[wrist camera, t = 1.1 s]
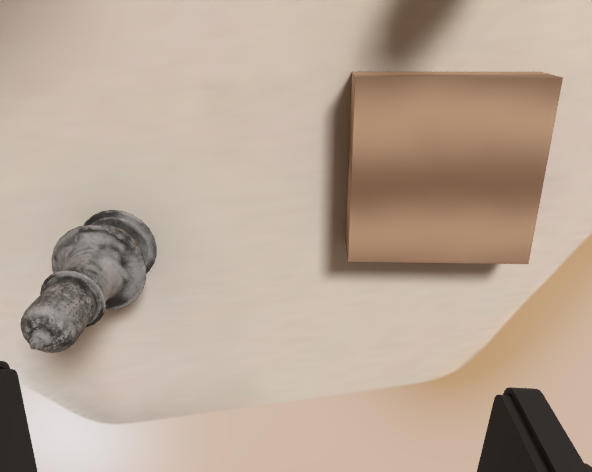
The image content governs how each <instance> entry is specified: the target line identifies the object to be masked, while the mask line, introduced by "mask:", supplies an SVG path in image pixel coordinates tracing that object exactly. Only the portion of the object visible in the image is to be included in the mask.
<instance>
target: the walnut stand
mask: <svg viewBox="0 0 592 472" xmlns="http://www.w3.org/2000/svg"><path fill="white" fill-rule="evenodd" d="M562 79H563V78H562V77H558V76H554V75H550V74H546V73H542V72H352V86H351V113H350V139H349V166H348V193H347V219H346V249H347V256H348V262H407V263H488V264H528V262H529V257H530V252H531V246H532V241H533V235H534V230H535V225H536V219H537V214H538V208H539V203H540V198H541V192H542V187H543V181H544V176H545V171H546V165H547V160H548V154H549V149H550V144H551V138H552V133H553V127H554V122H555V117H556V111H557V106H558V100H559V95H560V90H561V84H562Z"/></svg>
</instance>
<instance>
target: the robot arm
mask: <svg viewBox="0 0 592 472" xmlns="http://www.w3.org/2000/svg"><path fill="white" fill-rule="evenodd" d="M0 472H37V468H36V463H35V458H34V453H33V448H32V444H31V439H30V434H29V429H28V424H27V419H26V414H25V410H24V404H23V399H22V394H21V389H20V384H19V379H18V375H17V372H16V371H15V370H13V369H10V367H9V365H8V364H7V363H6V362H4V361H0ZM477 472H592V467H591V466H589V465H588V464H584V463H583V461H582V459H581V458H580V456H579V454H578V453H577V451H576V449H575V447H574V446H573V444H572V442H571V441H570V439H569V437H568V436H567V434H566V432H565V431H564V429H563V427H562V426H561V424H560V422H559V421H558V419H557V417H556V416H555V414H554V412H553V411H552V409H551V407H550V405H549V404H548V402H547V400H546V399H545V397H544V395H543V394H542V393H541V391H540V390H538V389H527V388H506V390H505V391H504V394H503V395H497V396H496V397H495V399H494V403H493V407H492V411H491V415H490V419H489V424H488V428H487V432H486V436H485V440H484V444H483V449H482V453H481V457H480V461H479V465H478V469H477Z"/></svg>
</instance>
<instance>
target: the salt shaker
mask: <svg viewBox="0 0 592 472" xmlns="http://www.w3.org/2000/svg"><path fill="white" fill-rule="evenodd" d="M155 258H156V243H155V239H154V236H153V235H152V233H151V231H150V229H149V228H148V227H147V226H146V225H145V224H144V223H143V222H142V221H141V220H140V219H138V218H137V217H135V216H133V215H132V214H129V213H126V212H123V211H116V210H109V211H102V212H100V213H98V214H95V215H93V216H92V217H91V218H90V219H89V220H87V221H86V222H85V224H84V226H80V227H77V228H75V229H73V230H70V231H68V232H67V233H66V234H65V235H64V236H62V237H61V238H60V239H59V241H58V242H57V244H56V246H55V247H54V250H53V255H52V269H53V273H54V274H52V275H50V276H49V277H48V278H47V279H46V280H45V281H44V283H43V285H42V287H41V292H40V294H41V295H40V296H39V297H38V298H37V299H36V300H35V301H34V302H33V303H32V304H31V305H30V306H29V307H28V309H27V310H26V311H25V313H24V314H23V316H22V319H21V330H22V333H23V336H24V338H25V339H26V340H27V342H28V343H29V344H30V347H31V349H38V350H41V351H44V352H51V353H54V352H61V351H64V350H66V349H67V348H69V347H70V346H71V345H73V344H74V343H75V341H76V340H77V338H78V337H79V336H80V334H81V333H82V332H83V330H84V329H85V327H88V326H91V325H93V324H95V323H96V322H98V321H99V320H100V319H101V317H102V316H103V314H104V311H105V310H114V309H119V308H122V307H124V306H127V305H129V304H130V303H131V302H133V301H134V300H135V299H137V297H138V296H139V294H140V293H141V291H142V290H143V288H144V284H145V281H146V273H147V272H148V271H149V270H150V268H151V267H152V266H153V264H154V261H155Z"/></svg>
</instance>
